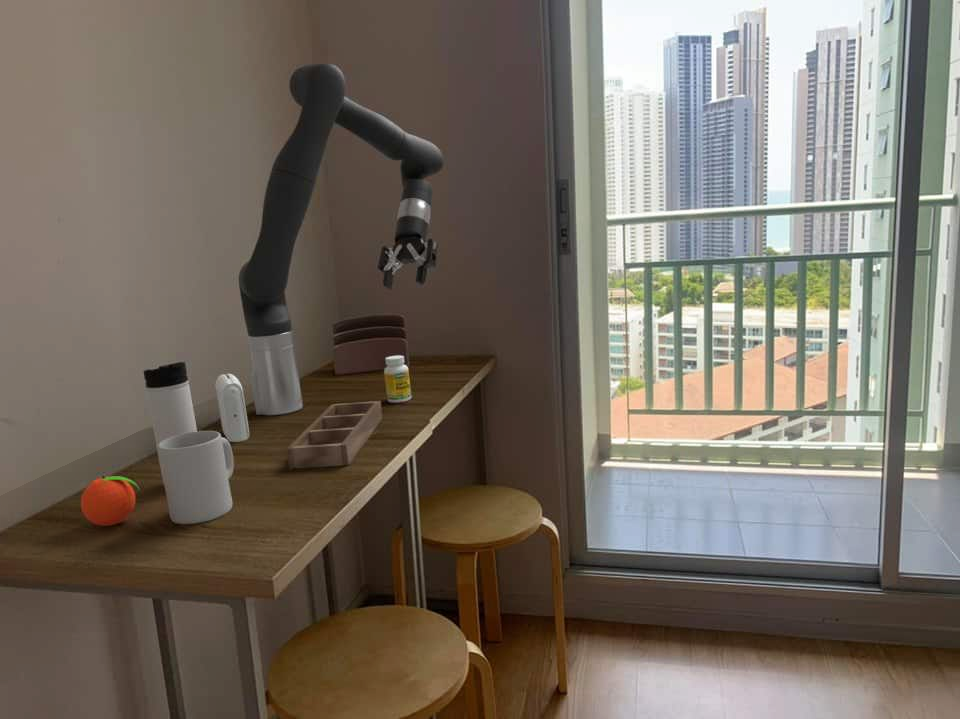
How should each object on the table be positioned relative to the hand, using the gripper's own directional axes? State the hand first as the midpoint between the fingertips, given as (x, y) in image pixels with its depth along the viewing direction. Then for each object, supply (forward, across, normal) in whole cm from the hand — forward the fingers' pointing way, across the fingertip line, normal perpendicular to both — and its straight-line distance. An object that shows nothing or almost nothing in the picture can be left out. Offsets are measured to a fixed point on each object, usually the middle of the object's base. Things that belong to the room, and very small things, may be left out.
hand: (403, 285), depth 166 cm
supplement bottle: (+25, 0, +5) cm, 26 cm away
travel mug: (+53, -8, -39) cm, 67 cm away
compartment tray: (+41, +5, -18) cm, 45 cm away
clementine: (+62, -5, -52) cm, 81 cm away
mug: (+58, +4, -45) cm, 73 cm away
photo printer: (+40, -20, -20) cm, 49 cm away
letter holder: (+8, -28, +30) cm, 41 cm away
